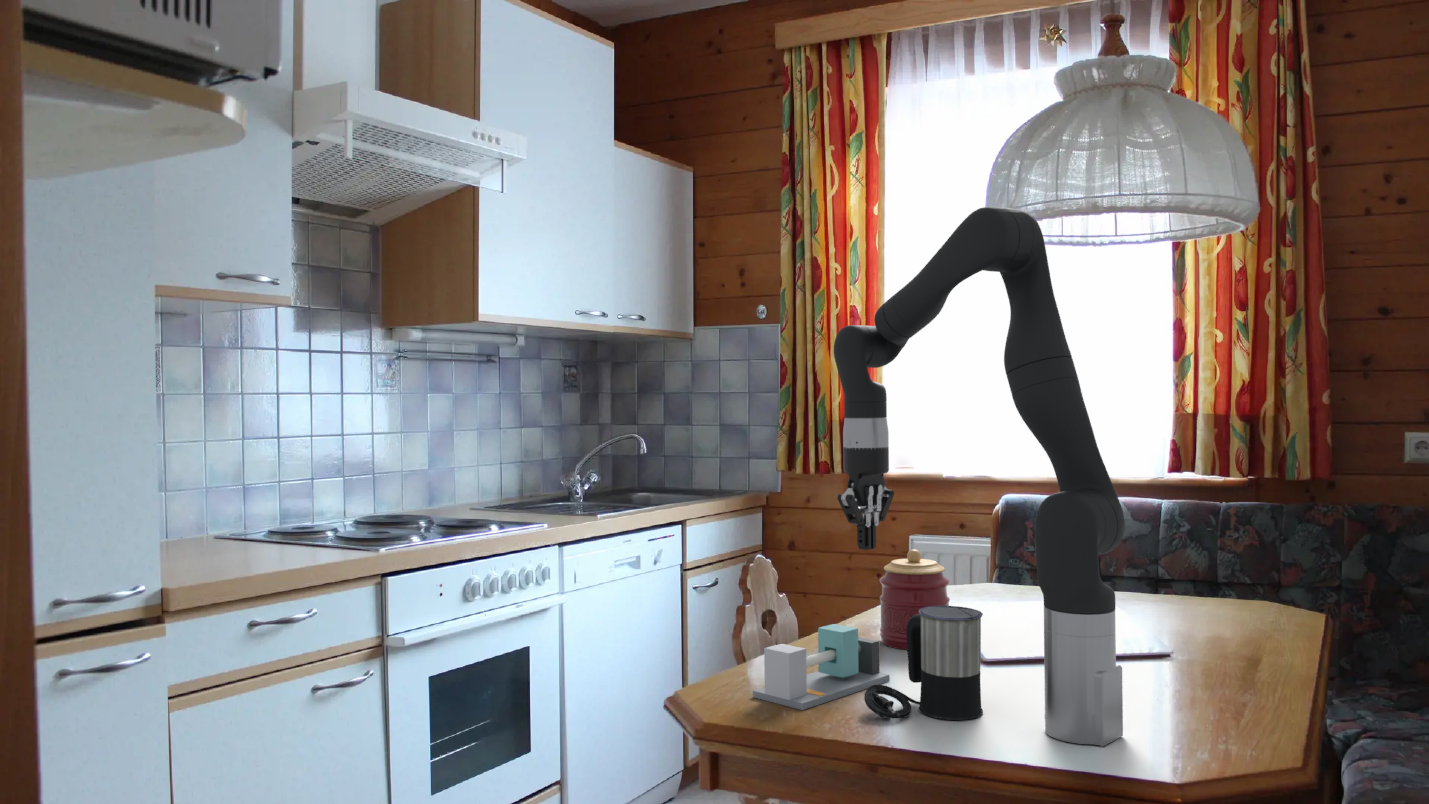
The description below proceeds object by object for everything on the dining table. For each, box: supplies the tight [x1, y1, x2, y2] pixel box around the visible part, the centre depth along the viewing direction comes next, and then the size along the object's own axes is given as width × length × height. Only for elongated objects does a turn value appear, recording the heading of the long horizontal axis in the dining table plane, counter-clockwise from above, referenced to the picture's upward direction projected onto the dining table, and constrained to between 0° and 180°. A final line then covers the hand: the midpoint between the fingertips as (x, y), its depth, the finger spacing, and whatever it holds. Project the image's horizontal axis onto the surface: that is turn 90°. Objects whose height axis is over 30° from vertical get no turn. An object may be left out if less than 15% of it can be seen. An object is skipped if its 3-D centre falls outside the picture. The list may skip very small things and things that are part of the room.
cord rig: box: [752, 636, 891, 711], centre depth 166 cm, size 10×22×8 cm, turn 135°
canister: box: [878, 548, 951, 650], centre depth 197 cm, size 13×13×18 cm
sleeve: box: [817, 623, 859, 678], centre depth 169 cm, size 5×4×7 cm
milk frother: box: [863, 605, 984, 721], centre depth 153 cm, size 14×16×15 cm
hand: (867, 548), depth 175 cm, fingers closed
